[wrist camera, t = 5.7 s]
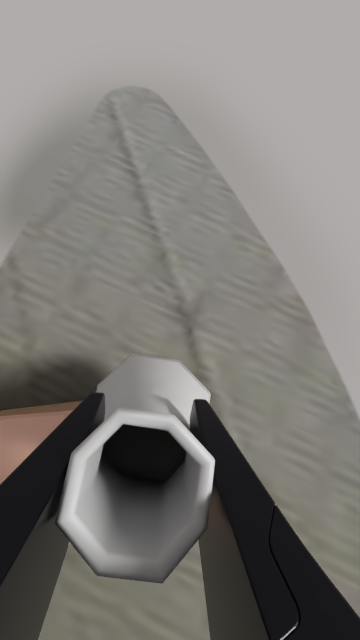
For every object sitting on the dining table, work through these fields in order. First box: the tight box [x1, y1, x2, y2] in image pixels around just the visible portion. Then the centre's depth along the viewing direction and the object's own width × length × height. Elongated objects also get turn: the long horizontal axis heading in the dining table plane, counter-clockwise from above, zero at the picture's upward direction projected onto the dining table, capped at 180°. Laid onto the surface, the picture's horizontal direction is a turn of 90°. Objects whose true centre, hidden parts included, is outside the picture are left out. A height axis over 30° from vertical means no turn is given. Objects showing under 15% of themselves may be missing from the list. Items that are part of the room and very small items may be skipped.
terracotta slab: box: [0, 410, 73, 546], centre depth 15 cm, size 8×8×2 cm
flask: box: [55, 352, 215, 583], centre depth 10 cm, size 7×7×10 cm
